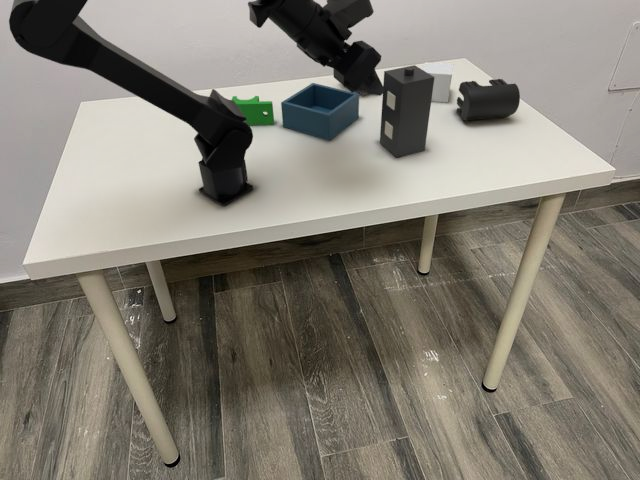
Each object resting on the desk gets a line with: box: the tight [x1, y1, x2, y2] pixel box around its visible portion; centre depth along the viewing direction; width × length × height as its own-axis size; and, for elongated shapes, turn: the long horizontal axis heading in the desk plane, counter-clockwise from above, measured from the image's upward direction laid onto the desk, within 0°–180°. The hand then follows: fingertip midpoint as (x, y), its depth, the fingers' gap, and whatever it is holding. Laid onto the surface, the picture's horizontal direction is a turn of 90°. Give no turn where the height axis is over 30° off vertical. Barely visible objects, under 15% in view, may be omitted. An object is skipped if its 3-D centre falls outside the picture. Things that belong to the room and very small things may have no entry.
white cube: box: [422, 61, 454, 103], centre depth 102 cm, size 6×6×6 cm
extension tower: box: [379, 64, 434, 159], centre depth 83 cm, size 6×6×14 cm
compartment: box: [280, 82, 360, 141], centre depth 94 cm, size 11×11×5 cm
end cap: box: [455, 78, 521, 121], centre depth 93 cm, size 10×7×7 cm
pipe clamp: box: [231, 95, 275, 126], centre depth 95 cm, size 11×4×5 cm, turn 89°
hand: (368, 82), depth 76 cm, fingers open, 9 cm apart
